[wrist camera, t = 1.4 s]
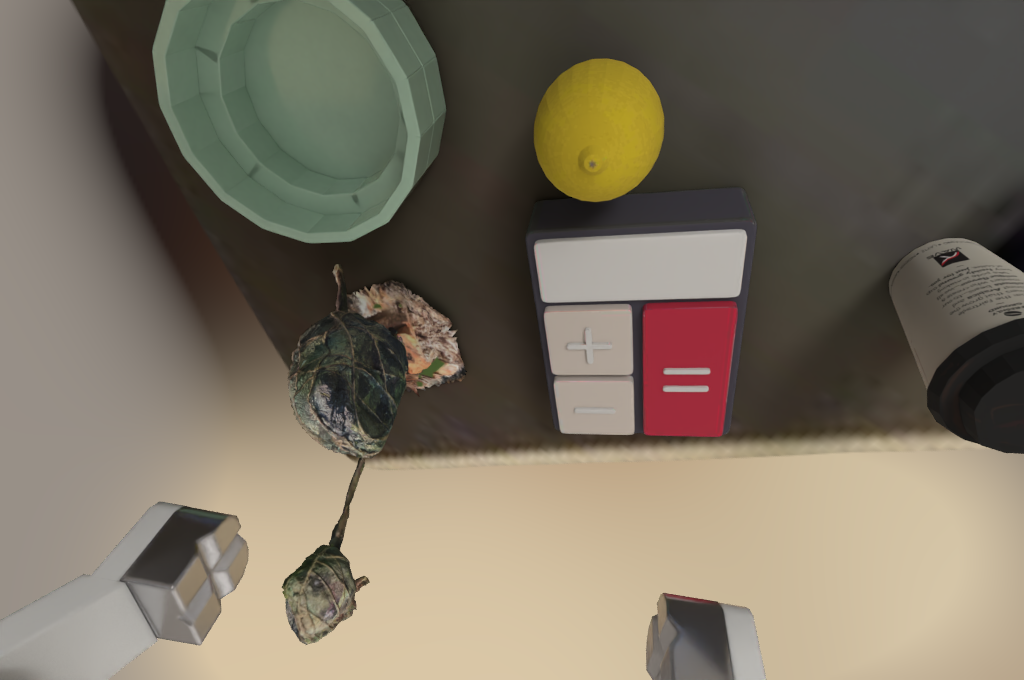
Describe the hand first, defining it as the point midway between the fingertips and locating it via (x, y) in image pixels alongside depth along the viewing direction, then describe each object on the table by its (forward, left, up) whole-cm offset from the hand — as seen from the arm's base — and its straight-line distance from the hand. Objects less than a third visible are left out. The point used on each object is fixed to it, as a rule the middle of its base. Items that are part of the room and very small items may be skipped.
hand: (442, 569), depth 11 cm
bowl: (+9, -8, -24) cm, 27 cm away
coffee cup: (-15, +15, -24) cm, 32 cm away
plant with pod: (+15, +5, -24) cm, 29 cm away
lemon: (-3, -1, -24) cm, 24 cm away
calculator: (0, +11, -24) cm, 26 cm away
